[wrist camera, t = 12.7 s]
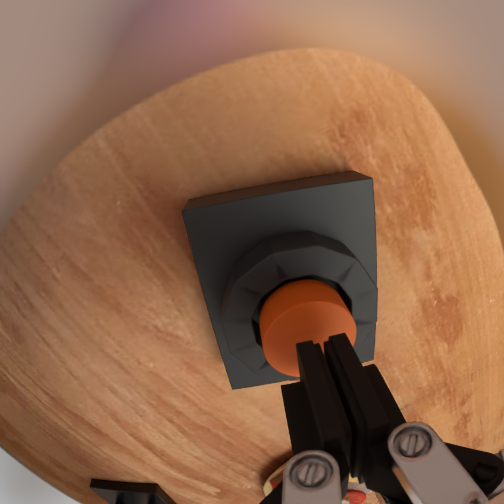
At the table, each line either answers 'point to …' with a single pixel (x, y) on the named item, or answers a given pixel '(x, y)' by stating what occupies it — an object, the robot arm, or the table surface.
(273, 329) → the button
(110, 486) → the bracket
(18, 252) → the table surface
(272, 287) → the control block
